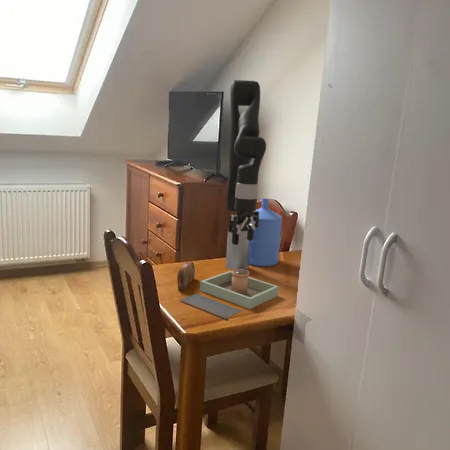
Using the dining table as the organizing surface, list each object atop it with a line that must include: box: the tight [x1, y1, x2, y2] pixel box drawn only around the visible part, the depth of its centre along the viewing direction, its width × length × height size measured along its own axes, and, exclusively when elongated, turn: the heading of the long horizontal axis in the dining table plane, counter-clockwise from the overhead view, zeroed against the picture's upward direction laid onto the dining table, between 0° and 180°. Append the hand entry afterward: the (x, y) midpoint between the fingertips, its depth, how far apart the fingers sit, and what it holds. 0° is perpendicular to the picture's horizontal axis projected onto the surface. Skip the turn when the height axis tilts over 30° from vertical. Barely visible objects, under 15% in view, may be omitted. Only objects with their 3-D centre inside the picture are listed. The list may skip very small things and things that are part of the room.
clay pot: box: [231, 269, 250, 295], centre depth 170 cm, size 6×6×8 cm
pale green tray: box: [199, 270, 280, 310], centre depth 171 cm, size 17×22×4 cm
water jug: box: [249, 198, 283, 267], centre depth 209 cm, size 16×16×28 cm
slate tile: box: [180, 293, 243, 322], centre depth 159 cm, size 8×20×1 cm, turn 51°
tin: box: [176, 261, 196, 291], centre depth 176 cm, size 15×3×8 cm, turn 168°
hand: (242, 242), depth 167 cm, fingers open, 8 cm apart
